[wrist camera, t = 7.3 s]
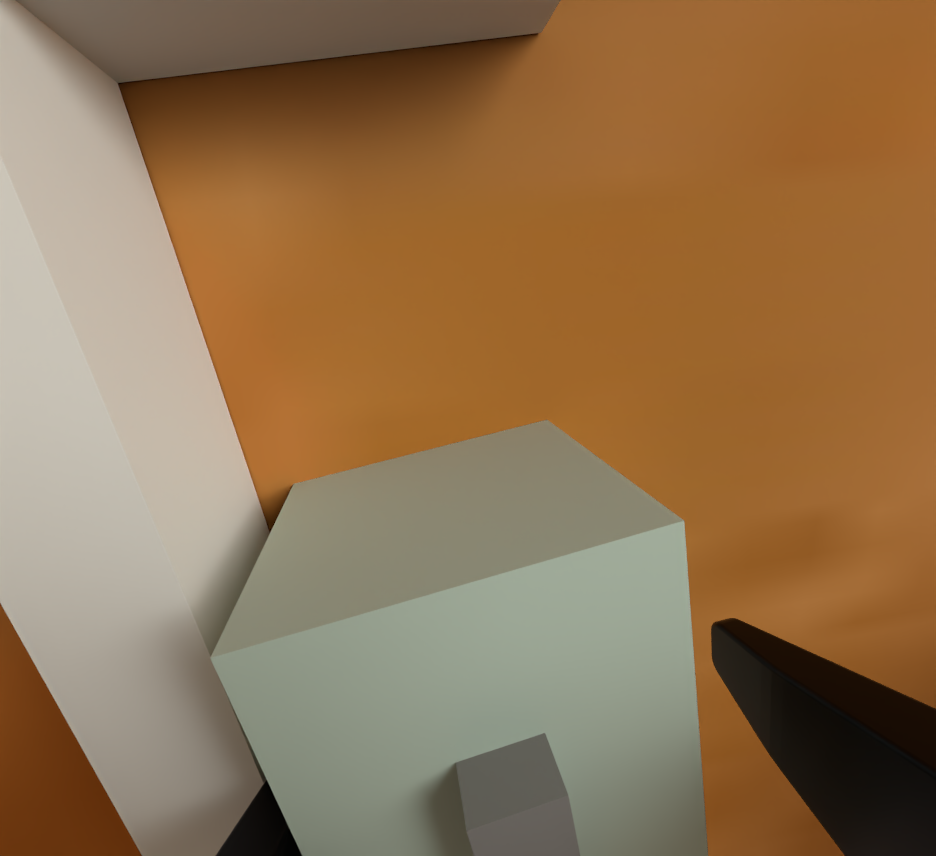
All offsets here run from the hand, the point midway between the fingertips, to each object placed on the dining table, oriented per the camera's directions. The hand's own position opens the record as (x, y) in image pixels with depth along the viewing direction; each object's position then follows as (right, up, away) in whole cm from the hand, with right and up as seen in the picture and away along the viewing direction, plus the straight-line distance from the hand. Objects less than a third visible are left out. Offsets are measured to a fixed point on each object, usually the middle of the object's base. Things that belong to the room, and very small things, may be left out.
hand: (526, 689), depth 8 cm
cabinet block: (-1, +1, +3) cm, 3 cm away
